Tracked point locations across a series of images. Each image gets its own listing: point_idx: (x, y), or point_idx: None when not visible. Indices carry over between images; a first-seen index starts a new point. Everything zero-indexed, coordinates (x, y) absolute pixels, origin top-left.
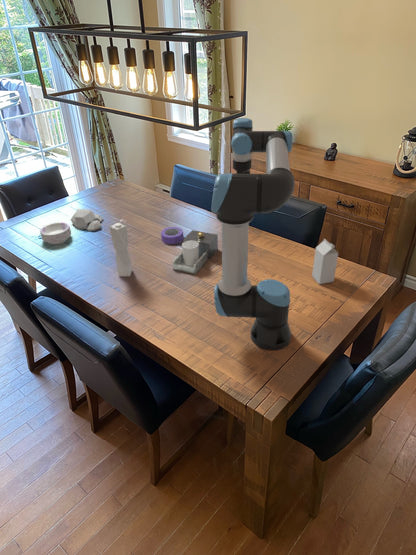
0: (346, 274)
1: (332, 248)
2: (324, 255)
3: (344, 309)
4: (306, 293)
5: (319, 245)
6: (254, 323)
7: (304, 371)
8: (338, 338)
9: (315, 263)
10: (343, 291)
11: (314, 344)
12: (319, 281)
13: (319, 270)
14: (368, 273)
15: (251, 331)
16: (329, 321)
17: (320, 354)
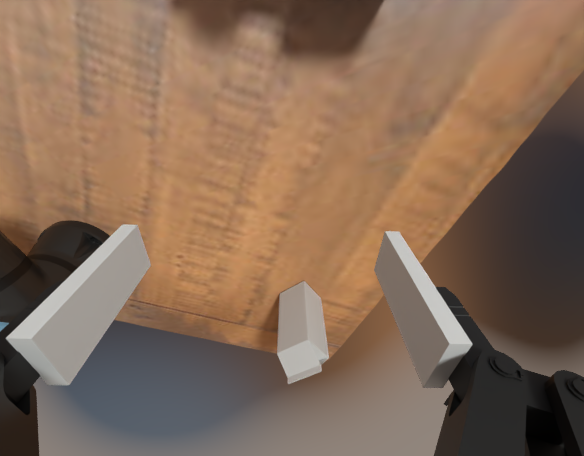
0: (327, 321)
1: (289, 377)
2: (278, 354)
3: (224, 326)
4: (241, 280)
5: (310, 350)
6: (40, 244)
7: None
8: (151, 326)
9: (299, 310)
10: (273, 322)
11: None
12: (279, 297)
13: (283, 313)
14: (339, 343)
15: (47, 230)
16: (182, 314)
17: None
